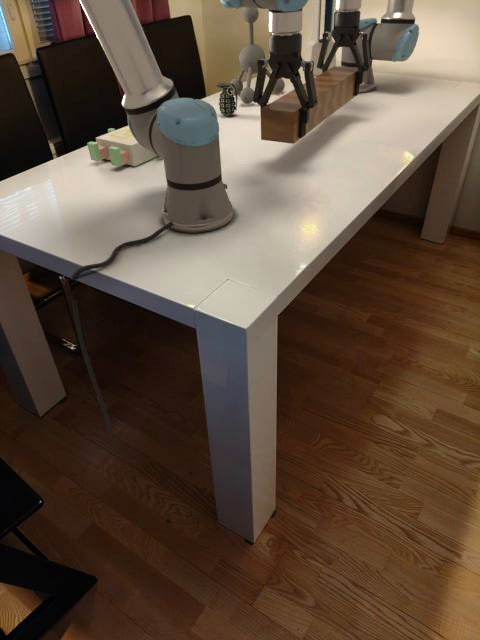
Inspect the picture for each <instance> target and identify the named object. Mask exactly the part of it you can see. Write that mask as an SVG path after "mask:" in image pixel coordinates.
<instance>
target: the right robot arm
mask: <svg viewBox="0 0 480 640" xmlns="http://www.w3.org/2000/svg"><path fill="white" fill-rule="evenodd" d="M414 2H415V0H387V6H386V12H385V13H384V14H383V15H382V16H381V17H380V23H378V19H377V18H376V17H370V18H369V17H368V18H363V19H361V11H360V9H361V8H362V0H334V15H333V30H332V32H328V31H327V32H324V31H323V33H322V39H323V42H322V46H321V51H320V55H319V59H318V63H317V68H320V69H322V73H324V72H325V71H327V70H328V67H329V65H330V64H331V62H332V60H333V58H334V56H335V54H336V55H337V52H338V50H339V48H341V56H340V58H341V59H340V67H357V68H358V72H357V73H356V79H355V91H354V96H355V97H357V96H359V94H360V93H367V92H371V91H373V90H374V89H375V86H376V81H375V77H374V71H373V61H384V62H393V63H396V62H406V61H408V60H409V58H410V57H411V56H412V54H413V53H414V51H415V48H416V46H417V44H418V40H419V36H420V35H419V34H420V26H419V24H417V23H416V16H415V15H414V14H413V13H414V12H413V10H414V9H413V8H414ZM331 36H332V40H333V42H334V45H333V47H332V49H331V51H330V53H329V55H328V57H327V59H326V61H325V63H324V59H325V55H326V51H327V47H328V43H329V40H330V39H331ZM323 63H324V64H323ZM359 88H360V93H359Z"/></svg>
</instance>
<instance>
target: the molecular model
mask: <svg viewBox="0 0 480 640" xmlns="http://www.w3.org/2000/svg"><path fill="white" fill-rule="evenodd" d="M258 9H259V8H252V7H244V9H243V11H242V16H243V17H242V18H243V19H244V21H245V22H246V23H248V33H249V36H248V37H249V44H246V45H245V46H244V47H243V48H241V51H240V52H239V56H238V62H239V66H240V68H241V69H240V72H239V74H238V76H237V77H235V78H232V79H231V80H230V81H229V83H233V84H234V85H235V87H236V90H237V95H238V94H239V93H240V94H239V98H240V100H241V102H242V103H244V104H246V105H249V104H251V103H254V102H253V97H254V91H255V89H254V88H253V87H251V84H252V75H256V74H257V73H258V66H257V61H258V60H260V59H262V58H265V59H267V57H266V53H265V51H264V49H263V48H262V47H261V46H260V45H258V44H256V43H254V41H255V40H254V38H255V37H254V23H256V22H257V21H258V18H259V14H260V13H259V10H258ZM245 73H247V78H246V83H245V84H246V85H245V87H244V83H243V81H242V78H243V76H244V74H245ZM270 75H271V72H270V70H269V69H268V68H267V72H266V77H268V78H269V77H270ZM283 79H284V78H279V79H278V80H277V83H276V85H275V87H274V90H273V92H272V93H274V94H281V93H282V92H283V91H284V90H285V87H286V83H285V81H284V80H283ZM233 92H234V94H235V91H234V90H232V91H231V93H233Z"/></svg>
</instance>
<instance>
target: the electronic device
mask: <svg viewBox="0 0 480 640" xmlns="http://www.w3.org/2000/svg"><path fill="white" fill-rule="evenodd" d="M311 7H312V9H311V33H310V34H311V35H310V40H309V41H308V42H307V44H306V50H305V55H304V61H314V69H313V75H314V77H317V76H318V75H320V74H322V69H320V68H317V63H318V59H319V55H320V51H321V46H322V42H323V38H321V37H320V36H321V18H322V17H321V16H322V0H312V6H311ZM334 7H335V0H325V2H324V18H323V19H324V20H323V21H324V22H323V33H324V32H327V31H328V32H332V30H333V24H334V13H335V9H334ZM320 38H321V39H320ZM334 43H335V41H334V40H333V37H332V36H331V39H330V40H329V43H328V47H327V51H326V55H325V59H324V63H325V61H326V59H327V57H328V55H329V53H330V51H331V49H332V47H333V45H334ZM324 63H323V64H324ZM334 66H337V53H336V54H335V56H334V58H333V60H332V62H331V64H330V65H329V67H328V70H329V69H331V68H332V67H334Z"/></svg>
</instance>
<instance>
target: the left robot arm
mask: <svg viewBox="0 0 480 640" xmlns="http://www.w3.org/2000/svg"><path fill="white" fill-rule="evenodd" d="M78 1H79V3H80V4H81V7H82V9H83V11H84V13H85V15H86V17H87V19H88V21H89V24H90V25H91V27H92V29H93V31H94V33H95V35H96V38H97V39H98V41H99V43H100V45H101V48H102V50H103V51H104V54H105V56H106V58H107V60H108V62H109V65H110V66H111V68H112V70H113V72H114V74H115V76H116V78H117V81H118V83H119V84H120V86H121V88H122V90H123V91H122V92H123V93H124V94H123V98H122V101H121V105H122V108H123V109H124V112H125V113H126V115H127V116H126V117H127V118H126V119H127V126H128V125H129V129H130V131H131V133H132V135H133V136H134V138H135V139H136V140H137V142H138V143H139V144H140V145H142V146H143V147H145V148H146V149H148V150H150V151H151V152H153V153H154V154H156V155H158V156H157V157H159V158H160V159H162V160H163V168H164V174H165V180H166V190H165V191H166V192H165V196H164V203H163V207H162V218H163V222H164V224H165V225H163V226H162V227H160V228H159V229H157V230H155V232H153V233H152V234H150V235H149V236H147V237H144V238H140V239H135V240H130V241H126V242H123V243H121V244H119V245H118V246H116V247H115V248H114V249H113V250H112V252H111V254H110V256H109V257H108V258H107V259H106V260H104V261H102V262H97V263H92V264H86V265H83V266H81V267H79V268H78V269H77V270H75V272H73V274H72V275H71V278H70V281H75V280H77V278H78V277H79V276H80V275H81V273H82V274H83V272H85V271H89V270H94V269H95V270H96V269H100V268H105V267H106V266H108V265H110V264H111V263H113V261H114V260H115V258H116V256H117V255H118V253H119V252H120V251H121V250H123V249H125V248H127V247H131V246H135V245H141V244H144V243H145V244H146V243H148V242H150V241H152V240H154V239H155V238H157V237H158V236H159V235H160V234H162V233H164V232H165V231H166V230H168V229H171V230H173V231H177V232H180V233H190V234H191V233H192V234H193V233H194V234H195V233H196V234H197V233H205V232H206V233H207V232H210V231H215V230H216V229H220V228H222V227H224V226H226V225H227V224H228V223H230V221H231V220H232V218H233V216H234V212H233V211H234V210H233V204H232V201H231V200H230V197H229V195H228V192H227V190H228V184H227V183H224V182H223V175H222V174H223V173H222V161H221V159H222V158H221V147H220V146H221V145H220V124H219V120H218V114H217V111H216V109H215V108H214V106H213V105H212V104H210V103H209V102H207V101H206V100H202V99H199V98H196V99H194V98H191V97H180V96H179V94H178V91H177V88H176V87H175V84H174V81H173V80H172V79H171V78H168V77H166V76H164V75H163V74H162V71H161V69H160V67H159V65H158V62H157V60H156V57H155V55H154V53H153V51H152V48H151V46H150V43H149V41H148V38H147V36H146V34H145V31H144V29H143V26H142V24H141V22H140V20H139V17H138V15H137V12H136V10H135V8H134V6H133V3H132V1H131V0H78ZM308 1H309V0H219V2H220V3H221V5H222V6H223V7H224V8H226V9H236V10H238V9H240V8H245V7H252V8H257V9H260V10H268V32H269V33H270V34H269V36H268V52H269V55H268V58H266V59H265V58H262V59H260V60H258V61H257V66H258V73H256V74H257V75H256V80H255V87H254V97H253V102H252V103H255V104H258V105H259V107H260V113H261V108H263V107H265V106H266V105H268V104H270V99H271V97H272V95H273V93H274V92H273V90H274V87H275V85H276V83H277V80H278V79H279V78H281V79H286V80H289V81H290V83H291V85H292V86H293V88H294V89H295V91H296V94H297V96H298V99H299V101H300V104H301V106H302V109H301V110H299V138H301V139H303V138H304V137H305V136H306V135H307V134H306V124H307V123H308V122H309V120H310V109H311V108H314V107H315V106H317V105H318V100H317V94H316V87H315V81H314V78H315V76H314V75H313V69H314V61H305V59H303V57H302V48H303V34H302V33H301V31H302V30H303V8H304V7H305V6H307V3H308ZM269 67H270V69H271V72H270V73H271V75H270V77H268V81H267V84H266V86H265V82H266V77H267V75H266V72H267V69H268V68H269ZM301 68H302V71H303V74H304V81H305V82H304V83H303V81H302V76H301V73H300V71H299V70H300V69H301ZM305 83H306V89H307V94H306V91H305V89H304V86H303V84H305ZM294 89H293V90H294ZM307 95H308V96H307ZM71 304H72V312H73V313H72V314H73V320H74V323H75V325H74V326H75V330H76V334H77V338H78V342H79V346H80V349H81V353H82V356H83V359H84V362H85V365H86V369H87V371H88V374H89V377H90V380H91V383H92V386H93V388H94V391H95V394H96V397H97V400H98V402H99V405H100V408H101V411H102V414H103V416H104V420H105V423H106V426H107V429H108V432H109V436H110V439H111V440H114V439H115V438H116V435H115V432H114V430H113V426H112V422H111V420H110V416H109V414H108V410H107V408H106V405H105V402H104V399H103V396H102V393H101V390H100V388H99V385H98V382H97V379H96V376H95V373H94V370H93V367H92V364H91V361H90V357H89V354H88V350H87V347H86V344H85V340H84V335H83V330H82V327H81V326H82V325H81V321H80V316H79V308H78V301H77V300H75V299H71Z"/></svg>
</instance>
